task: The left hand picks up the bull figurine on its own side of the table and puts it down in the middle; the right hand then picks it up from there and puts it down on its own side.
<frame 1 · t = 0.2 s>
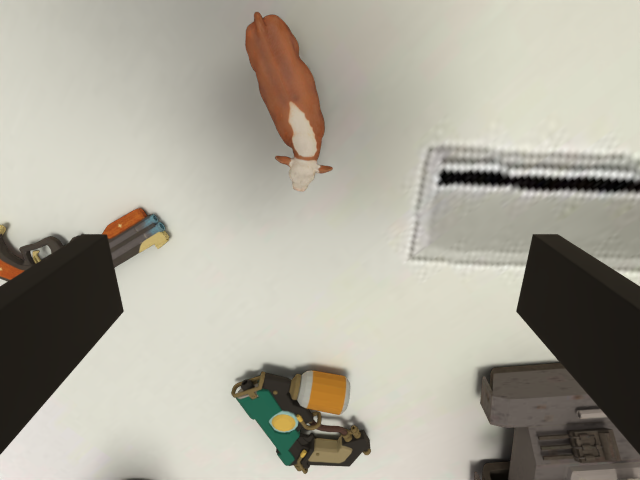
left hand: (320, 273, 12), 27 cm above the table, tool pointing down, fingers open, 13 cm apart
bull figurine: (295, 102, 36), on the table
spray gun: (305, 410, 49), on the table
toy: (571, 420, 50), on the table
toy gun: (73, 240, 41), on the table
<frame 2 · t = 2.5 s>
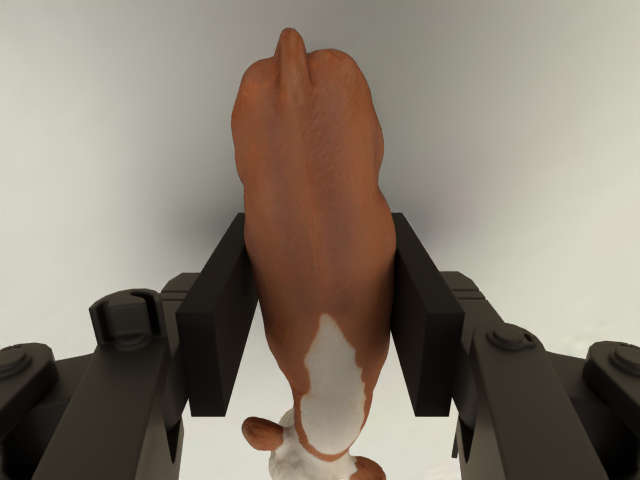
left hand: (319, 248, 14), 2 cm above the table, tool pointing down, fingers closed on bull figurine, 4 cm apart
bull figurine: (319, 228, 16), on the table, touching left hand
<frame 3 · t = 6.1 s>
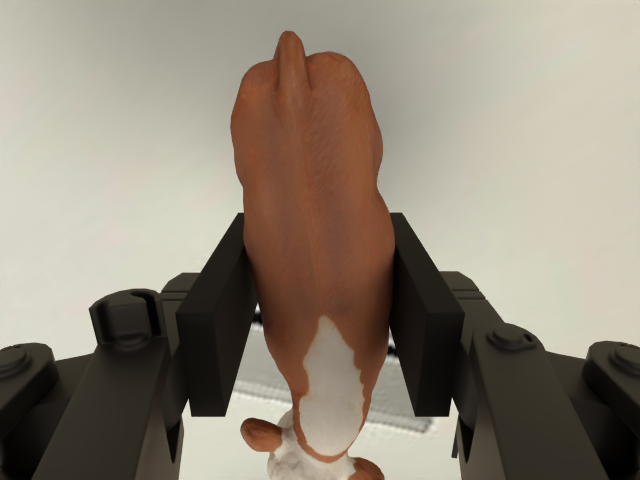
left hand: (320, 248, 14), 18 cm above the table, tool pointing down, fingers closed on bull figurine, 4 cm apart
bull figurine: (319, 229, 16), point 16 cm above the table, touching left hand
when the left hand's fingers open (4 cm above the table, at t = 10.1 s): bull figurine drops 1 cm, on the table.
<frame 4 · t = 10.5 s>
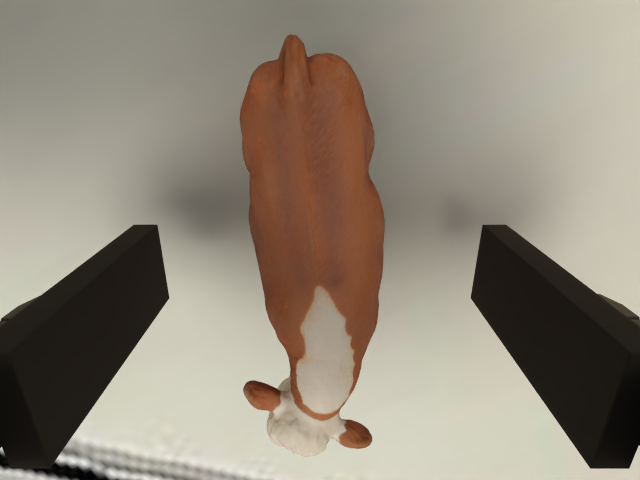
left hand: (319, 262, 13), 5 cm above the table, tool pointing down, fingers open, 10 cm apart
bull figurine: (317, 217, 18), on the table
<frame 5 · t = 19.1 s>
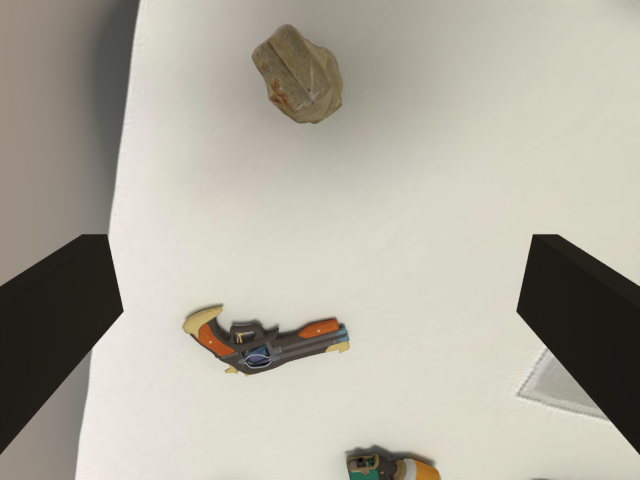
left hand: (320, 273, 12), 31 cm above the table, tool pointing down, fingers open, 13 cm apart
sculpture: (307, 82, 39), on the table
toy gun: (268, 327, 50), on the table
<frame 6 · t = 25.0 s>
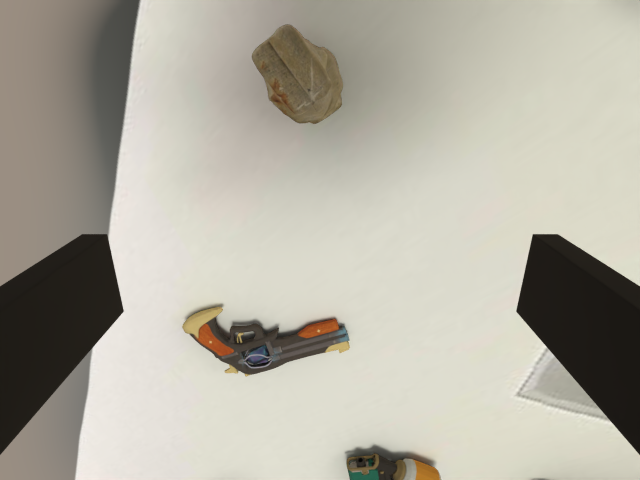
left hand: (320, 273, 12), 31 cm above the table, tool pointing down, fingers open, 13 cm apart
sculpture: (307, 82, 39), on the table
toy gun: (268, 327, 50), on the table
when the right hand's fingers open (4 cm above the table, at t = 31.1 s): bull figurine drops 1 cm, on the table.
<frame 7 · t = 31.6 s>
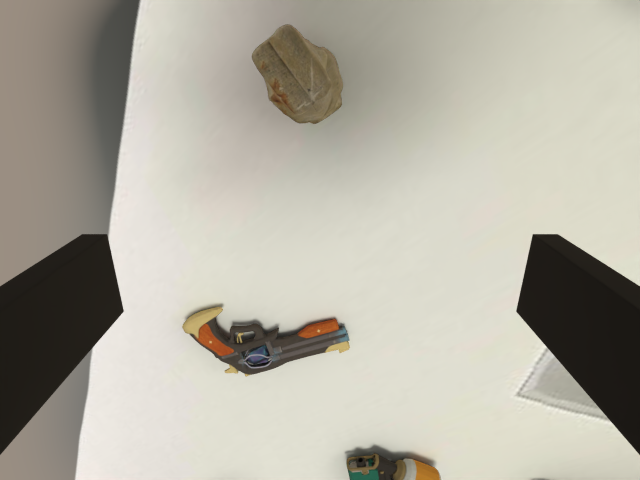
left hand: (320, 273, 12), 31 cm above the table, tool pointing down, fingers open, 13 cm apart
sculpture: (307, 82, 39), on the table
toy gun: (268, 327, 50), on the table
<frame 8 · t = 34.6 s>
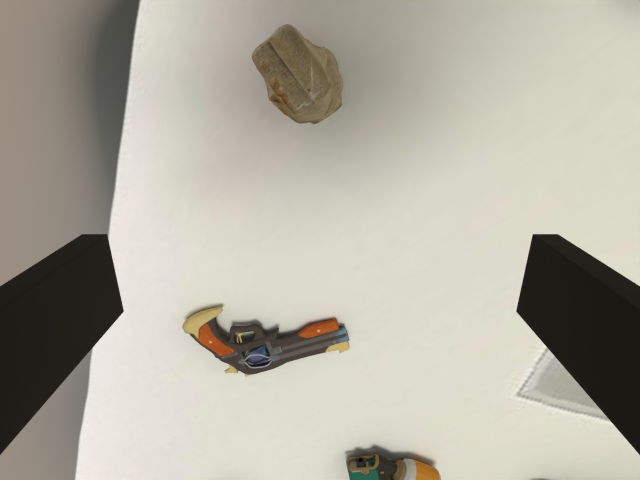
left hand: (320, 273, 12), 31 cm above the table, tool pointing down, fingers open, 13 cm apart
sculpture: (307, 82, 39), on the table
toy gun: (268, 327, 50), on the table
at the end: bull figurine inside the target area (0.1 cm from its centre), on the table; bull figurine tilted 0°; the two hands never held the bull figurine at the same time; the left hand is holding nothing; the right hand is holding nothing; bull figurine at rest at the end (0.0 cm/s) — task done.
